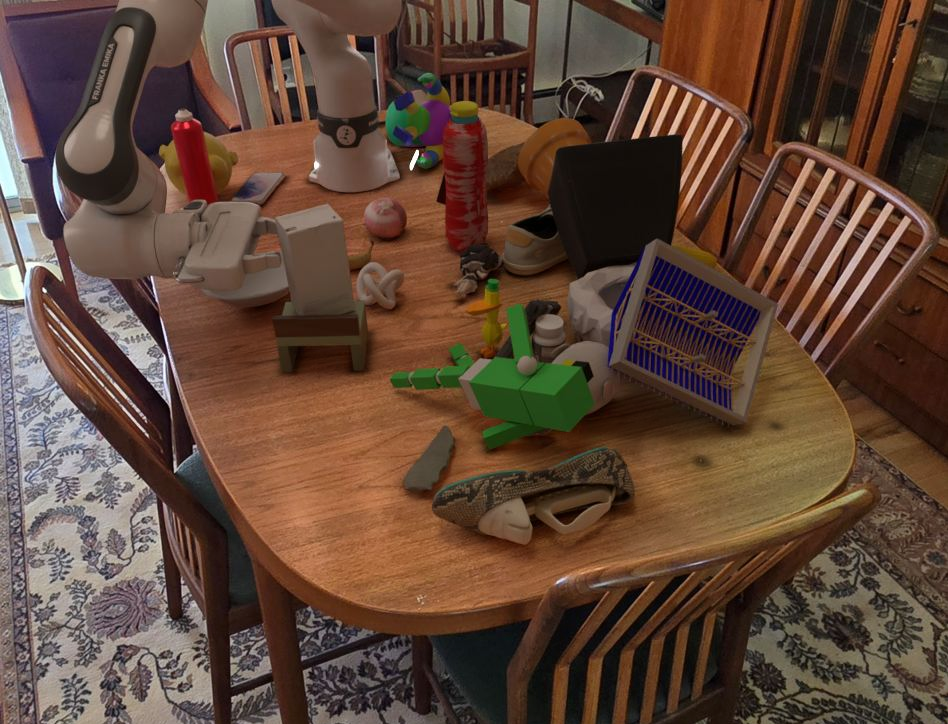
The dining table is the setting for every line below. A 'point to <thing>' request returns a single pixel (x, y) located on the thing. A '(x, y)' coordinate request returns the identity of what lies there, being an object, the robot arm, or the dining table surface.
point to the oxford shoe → (533, 244)
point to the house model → (689, 332)
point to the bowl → (596, 302)
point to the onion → (385, 218)
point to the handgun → (530, 322)
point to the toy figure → (489, 317)
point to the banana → (360, 259)
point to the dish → (255, 288)
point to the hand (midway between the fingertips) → (285, 243)
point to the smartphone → (258, 187)
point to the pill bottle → (547, 337)
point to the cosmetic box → (316, 261)
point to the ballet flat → (538, 496)
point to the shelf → (321, 333)
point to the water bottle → (465, 177)
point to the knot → (379, 285)
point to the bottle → (193, 158)
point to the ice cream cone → (419, 96)
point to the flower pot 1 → (548, 150)
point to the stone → (431, 463)
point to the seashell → (504, 169)
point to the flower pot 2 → (615, 198)
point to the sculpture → (218, 160)
